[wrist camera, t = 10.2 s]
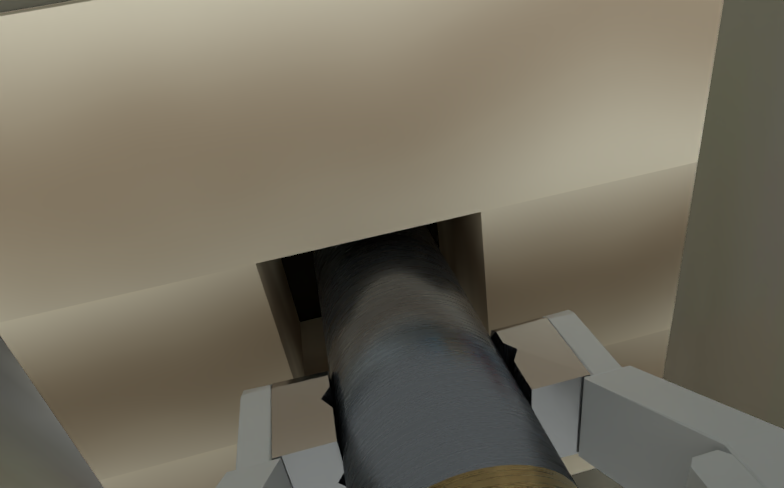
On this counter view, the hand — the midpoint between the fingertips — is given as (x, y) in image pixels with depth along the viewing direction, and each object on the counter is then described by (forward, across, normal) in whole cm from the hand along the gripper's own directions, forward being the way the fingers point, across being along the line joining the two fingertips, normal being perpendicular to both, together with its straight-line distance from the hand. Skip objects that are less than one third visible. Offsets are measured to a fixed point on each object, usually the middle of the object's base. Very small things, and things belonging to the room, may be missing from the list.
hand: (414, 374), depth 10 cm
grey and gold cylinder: (+4, 0, 0) cm, 4 cm away
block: (+6, 0, 0) cm, 6 cm away
